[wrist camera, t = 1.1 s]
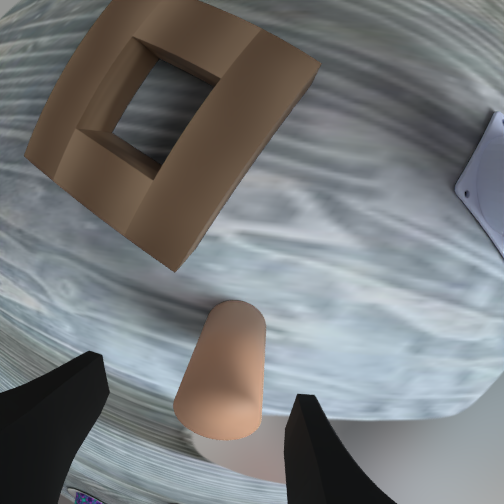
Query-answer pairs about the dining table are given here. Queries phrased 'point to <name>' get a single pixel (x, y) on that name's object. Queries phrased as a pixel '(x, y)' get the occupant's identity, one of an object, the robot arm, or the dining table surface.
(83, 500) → the pudding
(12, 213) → the dining table surface
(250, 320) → the peg
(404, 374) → the dining table surface
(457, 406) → the dining table surface
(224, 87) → the socket block
